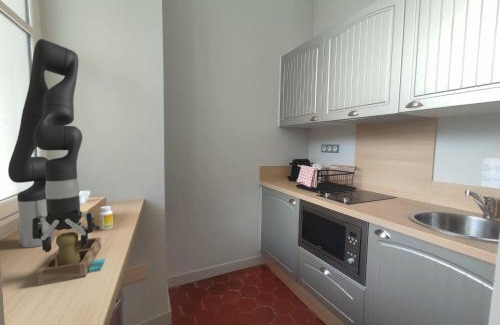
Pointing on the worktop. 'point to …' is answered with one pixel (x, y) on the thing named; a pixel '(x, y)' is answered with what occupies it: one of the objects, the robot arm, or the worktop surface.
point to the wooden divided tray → (75, 270)
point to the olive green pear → (68, 249)
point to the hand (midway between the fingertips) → (66, 248)
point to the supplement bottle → (105, 218)
